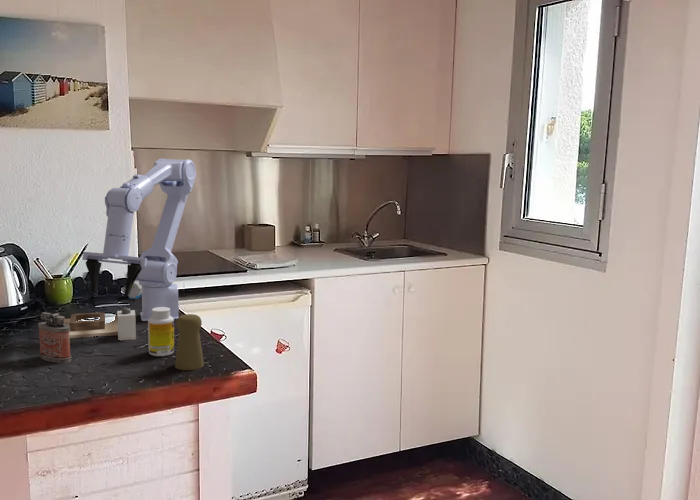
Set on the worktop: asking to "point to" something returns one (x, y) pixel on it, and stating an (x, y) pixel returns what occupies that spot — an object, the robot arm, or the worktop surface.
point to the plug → (126, 324)
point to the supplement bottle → (161, 332)
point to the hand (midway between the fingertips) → (110, 293)
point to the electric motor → (135, 290)
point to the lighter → (54, 338)
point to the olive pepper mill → (189, 343)
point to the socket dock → (90, 325)
